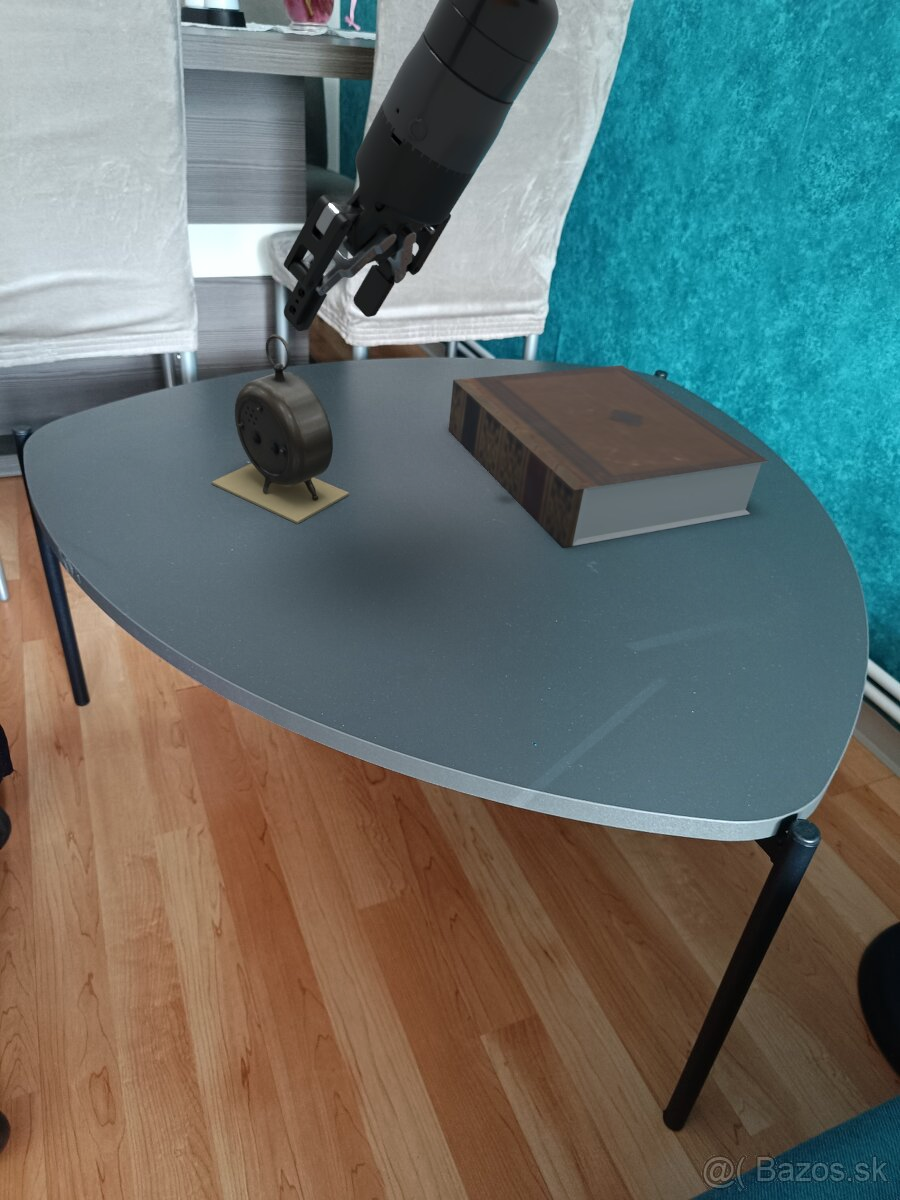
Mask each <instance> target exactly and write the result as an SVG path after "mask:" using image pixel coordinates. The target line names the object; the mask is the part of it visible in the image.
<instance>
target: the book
mask: <svg viewBox="0 0 900 1200" xmlns="http://www.w3.org/2000/svg"><path fill="white" fill-rule="evenodd" d="M451 389H452V391H451V398H450V399H451V401H450V412H449V421H448V422H449V423H448V431H449V432H450V434H451V435H452V436H453V437H454V438H455V439H457V441H458V442H459V443H460V444H461V445H462V446H463V447H464V448H465V449H466V450H467V451H468V452H469V453H470V454H471V455H472V456H473V457H474V458H475V459H476V460H477V461H478V462H479V464H481V465H482V466H483V468H484V469H486V471H487V472H488V473H489V474H491V476H492V477H493V478H494V479H495V480H496V481H497V482H498V483H500V485H501V486H502V487H503V488H504V489H505V490H506V491H507V492H508V493H509V494H510V495H511V497H512V498H514V499H515V500H516V502H518V503H519V504H520V506H522V507H523V509H524V510H526V512H527V513H528V514H529V515H530V516H531V517H532V518H533V519H534V520H535V521H536V522H537V523H538V524H539V526H540V527H542V529H544V530H545V531H546V532H547V533H548V534H549V535H550V536H551V538H553V539H554V540H555V541H556V543H557V544H558V545H559V546H561V548H562V549H563V548H569V547H575V546H581V545H586V544H591V543H597V542H602V541H609V540H614V539H620V538H625V537H630V536H637V535H641V534H648V533H653V532H658V531H664V530H671V529H675V528H681V527H685V526H686V527H687V526H693V525H698V524H703V523H707V522H708V523H709V522H715V521H719V520H724V519H725V520H726V519H730V518H735V517H742V516H746V515H748V516H749V515H751V513H750V512H749V511H748V510H747V506H748V505H749V501H750V498H751V496H752V492H753V489H754V486H755V483H756V481H757V477H758V475H759V472H760V471H761V470H760V469H761V467H762V465H763V464H765V463H768V462H769V460H768V459H766V458H765V457H763V456H762V455H760V454H759V453H757V451H754V450H753V449H752V448H750V447H748V446H746V445H745V444H744V443H742V442H741V441H740V440H738V439H737V438H734V437H733V436H731V435H730V434H728V433H727V432H725V431H724V430H722V429H720V427H718V426H716V425H715V424H714V423H711V422H710V421H709V420H708V419H705V418H704V417H702V416H701V415H699V414H698V413H696V412H695V411H693V410H692V409H690V408H689V407H687V406H686V405H684V404H682V403H681V402H680V401H678V400H676V399H675V398H673V397H671V396H670V395H669V394H667V393H666V392H664V391H662V390H661V389H660V388H658V387H656V386H655V385H654V384H652V383H650V382H648V380H646V379H644V378H643V377H641V376H640V375H638V374H636V373H635V372H633V371H632V370H630V369H629V368H628V367H626V366H624V365H623V364H620V365H609V366H599V367H597V366H596V367H585V368H574V369H573V368H572V369H562V370H552V371H541V372H540V371H539V372H528V373H516V374H515V373H514V374H504V375H491V376H481V377H480V376H479V377H468V378H458V379H457V378H455V379H453V380H452V388H451Z"/></svg>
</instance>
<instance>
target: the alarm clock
mask: <svg viewBox="0 0 900 1200" xmlns="http://www.w3.org/2000/svg"><path fill="white" fill-rule="evenodd" d="M272 339H278V340H279V341H280V342H281V343H282V345H283V346H284V349H285V352H286V356H287V357H286V363H285V365H283V364H282V363H280V362H279V363H278V362H277V363H275V362H274V361H273V359H272V356H271V353H270V350H269V349H270V348H269V347H270V343H271V341H272ZM289 347H290V346H289V345H288V343H287V341H286V340H285V338H283V337H282V336H281V335H278V334H275V333H274V334H271V335H269V337H268V338H267V339H266V342H265V353H266V356H267V359H268V361H269V363H270V364H271V366H272V367H273V370H274V373H271V374H268V375H265V376H262V377H258V378H256V379H253V380H250V381H248V382H246V383H245V384H244V385H243V386H242V387H241V388H240V390H239V392H238V393H237V396H236V399H235V403H234V420H235V428H236V432H237V435H238V437H239V441H240V443H241V446H242V448H243V450H244V453H245V454H246V456H247V458H248V459H249V461H250V462H251V463H252V464H253V465H254V466H255V468H256V469H257V470H258V471H259V472H260V473H261V474H262V475H263V476H264V477H265V483H264V487H263V493H266V492H267V491H268V488H269V486H270V483H275V484H277V485H280V486H286V487H289V486H294V485H297V484H299V483H301V482H304V483H305V484H306V486H307V488H308V490H309V492H310V493H311V494H312V499H313V500H314V501H316V500H318V499H319V497H318V496H317V495H316V491H315V487H314V485H313V483H312V481H311V479H312V478H313V477H314V478H315V477H318V476H320V475H322V474H323V473H325V472H326V471H327V469H328V468H329V466H330V464H331V461H332V457H333V451H334V450H333V449H334V440H333V439H334V437H333V432H332V428H331V423H330V421H329V417H328V415H327V412H326V410H325V408H324V406H323V403H322V402H321V400H320V398H319V397H318V395H317V393H316V392H315V391H314V390H313V388H312V387H311V385H309V384H308V383H307V382H306V381H305V380H304V379H303V378H301V377H299V376H298V375H297V374H295V373H294V372H291V371H286V369H287V368H288V367H289V366H290V363H291V350H290V348H289Z"/></svg>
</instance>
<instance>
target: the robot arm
mask: <svg viewBox="0 0 900 1200" xmlns="http://www.w3.org/2000/svg"><path fill="white" fill-rule="evenodd" d="M558 24H559V8H558V5H557V1H556V0H437V3H436V6H435V7H434V9H433V11H432V13H431V15H430V17H429V19H428V21H427V23H426V24H425V26H424V30H423V31H422V32H421V35H420V36H419V38H418V40H417V41H416V43H414V46H413V47H412V48H411V50H410V51H409V53H408V54H407V55H406V57H405V59H404V60H403V62H402V63H401V66H400V68H399V69H398V71H397V73H396V74H395V77H394V79H393V80H392V83H391V84H390V87H389V89H388V91H387V93H386V94H385V97H384V99H383V101H382V102H381V104H380V107H379V108H378V110H377V112H376V115H375V117H374V118H373V120H372V123H370V127H369V128H368V130H367V132H366V134H365V136H364V138H363V141H362V142H361V144H360V146H359V148H358V149H357V152H356V153H355V168H356V172H357V175H358V187H357V188H356V190H355V191H354V192H353V194H352V195H351V196H350V197H349V199H348V200H347V201H346V202H345V203H344V204H339V203H336V202H335V201H333V199H332V198H331V197H330V196H329V195H328V194H323V195H321V196H320V197H319V198H318V199H317V200H316V201H315V203H314V205H313V207H312V209H311V211H310V213H309V215H308V217H307V218H306V220H305V222H304V223H303V226H302V228H301V230H300V231H299V234H298V235H297V237H296V238H295V240H294V243H293V245H292V246H291V248H290V250H289V252H288V254H287V255H286V258H285V259H284V262H283V267H284V269H286V270H287V271H288V273H290V274H291V275H292V276H293V277H294V279H296V281H297V282H296V283H295V286H294V288H293V290H292V292H291V294H290V296H289V298H288V300H287V301H286V304H285V306H284V308H283V317H284V318H285V319H286V320H287V321H288V322H289V323H290V324H291V325H292V326H293V328H295V330H296V331H298V332H303V331H304V332H305V331H307V330H309V329H310V328H311V326H312V323H313V322H314V319H315V318H316V316H317V314H318V313H319V311H320V309H321V307H322V305H323V303H324V301H325V300H326V298H327V296H328V294H327V293H328V292H329V291H330V290H331V289H333V288H334V287H335V286H336V285H337V284H338V283H339V282H341V280H342V279H344V278H348V279H351V278H354V277H355V276H356V275H357V274H359V272H360V271H361V270H362V269H363V268H364V267H365V266H367V265H369V264H371V263H373V262H375V263H376V264H372V265H371V266H370V268H369V269H368V271H367V273H366V275H365V276H364V279H363V280H362V281H361V284H360V285H359V287H358V289H357V291H356V293H355V294H354V295H353V304H354V306H355V307H356V308H357V309H358V310H359V311H360V312H361V313H362V314H363V316H364V317H367V318H370V317H375V316H376V315H377V314H378V312H379V310H380V309H381V307H382V306H383V304H384V303H385V301H386V299H387V297H388V296H389V294H390V292H391V291H392V289H393V288H394V286H395V284H399V283H400V282H402V281H403V280H404V279H405V277H406V276H407V273H408V272H409V274H410V275H412V276H415V275H417V274H418V273H419V272H420V271H421V270H422V268H423V267H424V264H425V263H426V261H427V260H428V258H429V256H430V254H431V253H432V250H434V247H435V246H436V244H437V242H438V241H439V239H440V238H441V236H442V234H443V232H444V230H445V229H446V227H447V226H448V223H449V221H450V220H451V218H452V214H451V213H452V211H453V210H454V208H455V206H456V205H457V203H458V201H459V200H460V198H461V197H462V194H463V193H464V191H465V190H466V188H467V186H468V185H469V184H470V182H471V180H472V179H473V177H474V176H475V174H476V172H477V170H478V168H479V167H480V165H481V164H482V162H483V161H484V159H485V157H486V156H487V154H488V153H489V152H490V149H491V148H492V146H493V145H494V143H495V141H496V139H497V138H498V136H499V134H500V132H501V130H502V127H503V126H504V123H505V121H506V119H507V116H508V114H509V112H510V110H511V109H512V107H513V105H514V103H515V101H516V100H517V98H518V97H519V95H520V94H521V92H522V90H523V88H524V87H525V85H526V84H527V82H528V80H529V79H530V77H531V76H532V74H533V72H534V71H535V69H536V67H537V65H538V64H539V62H540V61H541V59H542V58H543V56H544V55H545V52H546V51H547V50H548V47H549V45H550V44H551V42H552V39H554V35H555V34H556V31H557V28H558ZM414 244H416V245H417V247H418V250H417V251H416V253H415V254H414V251H413V249H414ZM341 245H342V246H343V247H344V249H345V250H346V251H347V252H348V253H349V254H350V255H351V257H350V258H349V257H346V256H344V254H343V253H342V252H341V251H340V249H339V248H340V246H341ZM308 252H309V254H308V255H307V253H308ZM306 255H307V256H306ZM305 256H306V257H305ZM332 262H333V264H334V266H333V267H332V268H331V269H330V270H329V271H328V272H327V273H326V271H327V269H328V267H329V266H330V264H331V263H332ZM325 273H326V274H325Z"/></svg>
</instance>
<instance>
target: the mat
mask: <svg viewBox="0 0 900 1200" xmlns="http://www.w3.org/2000/svg"><path fill="white" fill-rule="evenodd" d="M311 481H312V483H313V485H314V487H315V491H316V495H317V496H318V497H319V499H318V500H316V501H314V500H313V499H312V494H311V493H310V492H309V490H308V488H307V486H306V484H305V483H304V482H301V483H299V484H297V485H294V486H289V487H286V486H280V485H277V484H275V483H270V486H269V488H268V491H267V492H266V493H263V487H264V483H265V477H264V476H263V475H262V474H261V473H260V472H259V471H258V470H257V469H256V468H255V466H254V465H253V464H252V462H251V463H249V464H247V465H244V466H243V467H240V468H238V469H237V470H234V471H232V472H230V473H227V474H225V475H223V476H221V477H219V478H216V479H215V480H212V481H211V485H213V486H214V487H217V488H219V489H221V490H224V491H226V492H227V493H230V494H232V495H234V496H236V497H238V498H241V499H243V500H245V501H247V502H249V503H251V504H254V505H255V506H258V507H260V508H262V509H264V510H266V511H269V512H271V513H272V514H275V515H277V516H279V517H282V518H284V519H286V520H287V521H289V522H292V523H295V524H297V525H298V524H301V523H302V522H303V521H306V520H307V519H309V518H311V517H313V516H314V515H317V514H318V513H319V512H322V511H323V510H325V509H327V508H328V507H331V506H332V505H334V504H335V503H337V502H339V501H341V500H343V499H345V498H346V497H348V496H349V495H350V492H349V491H346V490H344V489H341V488H339V487H336V486H334V485H332V484H330V483H327V482H325V481H323V480H320V479H318V478H315V477H313V478H312V479H311Z"/></svg>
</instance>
